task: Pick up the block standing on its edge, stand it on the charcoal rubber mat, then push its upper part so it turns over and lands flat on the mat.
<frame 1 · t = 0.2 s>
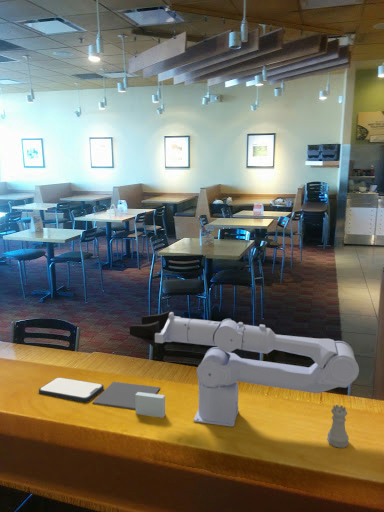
hand: (136, 325, 101), 21 cm above the worktop, tool horizontal, fingers open, 7 cm apart
block: (150, 414, 100), on the worktop
rook chess piece: (337, 443, 89), on the worktop
mat: (127, 395, 109), on the worktop
smartphone: (71, 392, 112), on the worktop
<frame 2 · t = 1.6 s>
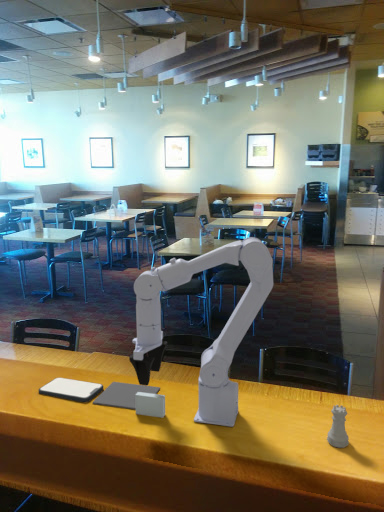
hand: (149, 377, 99), 9 cm above the worktop, tool pointing down, fingers open, 7 cm apart
nothing on the worktop moved.
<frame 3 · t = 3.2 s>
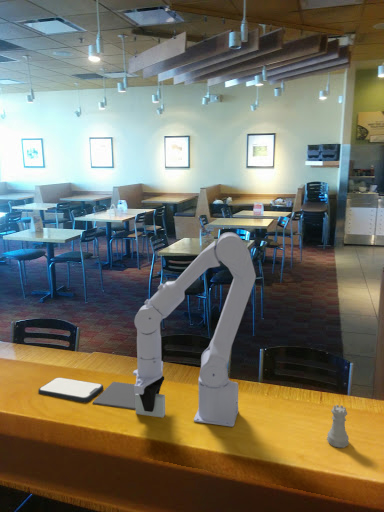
hand: (150, 408, 100), 1 cm above the worktop, tool pointing down, fingers closed on block, 2 cm apart
block: (150, 413, 100), on the worktop, touching gripper
everything else where it was.
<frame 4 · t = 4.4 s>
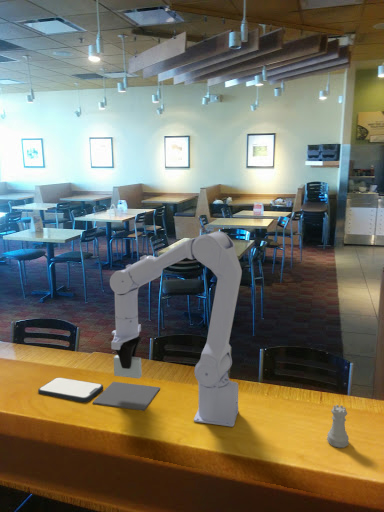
hand: (127, 366, 107), 9 cm above the worktop, tool pointing down, fingers closed on block
block: (127, 375, 108), point 6 cm above the worktop, touching gripper
everything else where it was.
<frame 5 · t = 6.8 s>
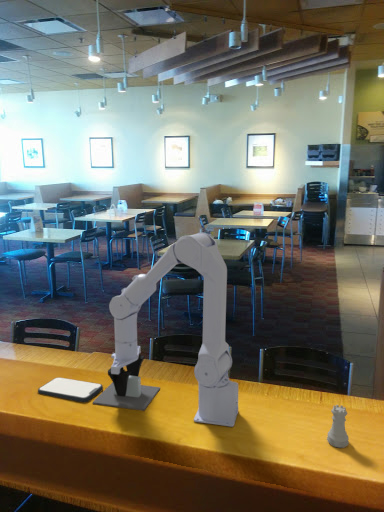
hand: (127, 388, 109), 2 cm above the worktop, tool pointing down, fingers open, 7 cm apart
block: (127, 394, 109), resting on mat
everything else where it was.
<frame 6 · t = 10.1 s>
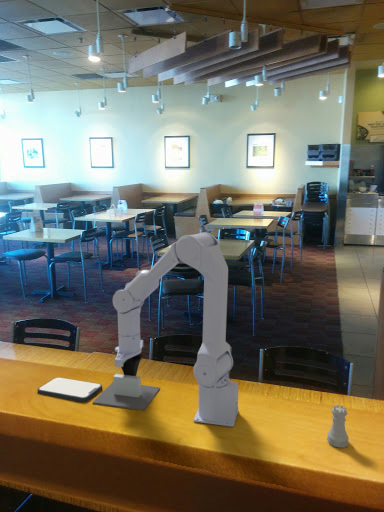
hand: (130, 381, 111), 3 cm above the worktop, tool pointing down, fingers closed
block: (127, 394, 109), resting on mat, touching gripper
everything else where it was.
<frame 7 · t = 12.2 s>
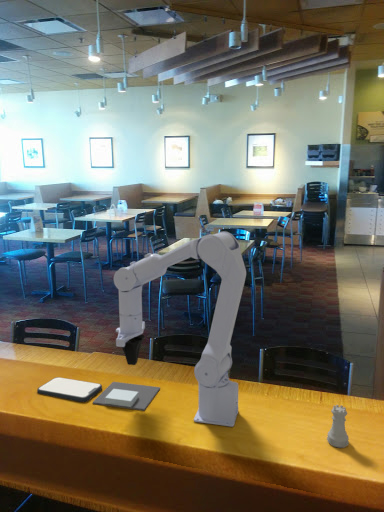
hand: (132, 363, 107), 9 cm above the worktop, tool pointing down, fingers closed
block: (126, 393, 108), point 1 cm above the worktop, tilted 90°, touching mat
everything else where it was.
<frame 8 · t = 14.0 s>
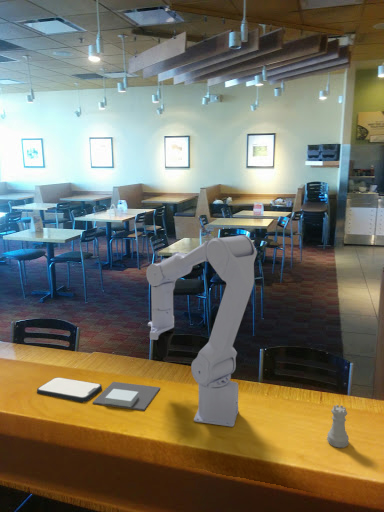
hand: (163, 356, 111), 9 cm above the worktop, tool pointing down, fingers closed
nothing on the worktop moved.
at the end: block tilted 90°; block inside the target area on the mat (0.8 cm from its centre), point 1.2 cm above the mat's base; the gripper is holding nothing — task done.
